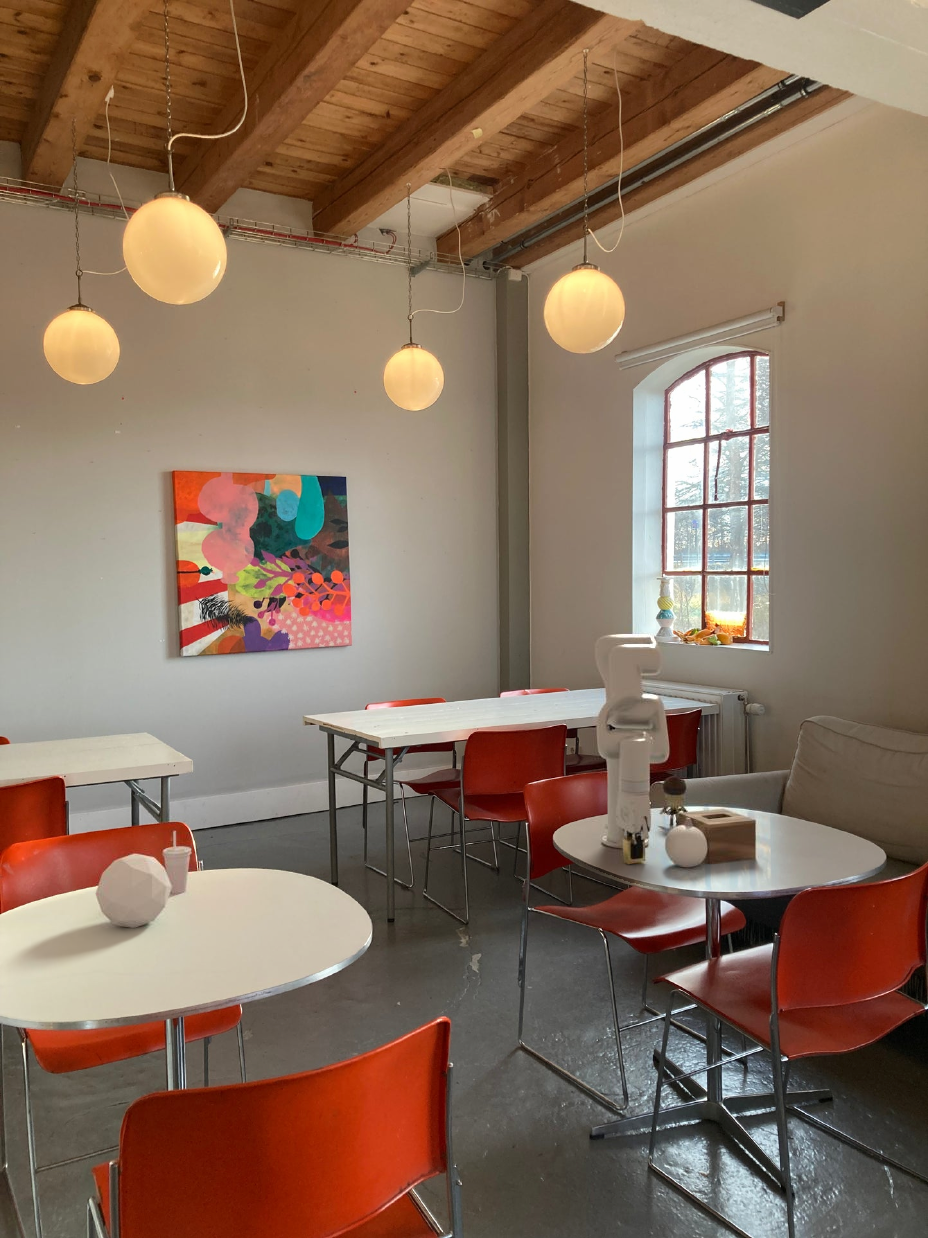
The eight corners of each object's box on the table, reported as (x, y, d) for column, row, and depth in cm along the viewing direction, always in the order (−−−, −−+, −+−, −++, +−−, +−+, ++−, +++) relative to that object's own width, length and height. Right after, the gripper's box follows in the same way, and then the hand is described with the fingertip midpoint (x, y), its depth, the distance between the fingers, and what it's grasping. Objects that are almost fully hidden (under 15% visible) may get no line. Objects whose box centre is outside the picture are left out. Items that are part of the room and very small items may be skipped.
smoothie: (170, 886, 215) (169, 827, 215) (196, 887, 214) (195, 828, 214) (158, 895, 208) (157, 834, 208) (185, 896, 208) (184, 835, 208)
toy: (689, 823, 274) (689, 773, 274) (690, 828, 267) (690, 777, 267) (659, 821, 276) (659, 772, 276) (659, 827, 269) (659, 776, 269)
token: (623, 861, 232) (622, 838, 232) (640, 858, 234) (639, 835, 234) (628, 864, 230) (627, 841, 230) (645, 861, 232) (644, 838, 231)
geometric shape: (146, 941, 194) (184, 876, 200) (143, 939, 180) (184, 869, 187) (85, 910, 193) (126, 845, 199) (77, 906, 179) (121, 837, 186)
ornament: (701, 860, 234) (701, 814, 234) (711, 872, 224) (711, 823, 224) (661, 860, 234) (661, 814, 234) (670, 872, 224) (670, 823, 224)
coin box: (678, 850, 244) (678, 812, 244) (723, 845, 249) (723, 808, 249) (709, 864, 231) (709, 824, 231) (755, 858, 236) (755, 820, 235)
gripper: (606, 779, 237) (606, 849, 238) (637, 794, 222) (637, 868, 223) (631, 777, 239) (631, 846, 241) (664, 791, 225) (663, 865, 226)
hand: (634, 856), depth 232 cm, fingers closed on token, 2 cm apart
